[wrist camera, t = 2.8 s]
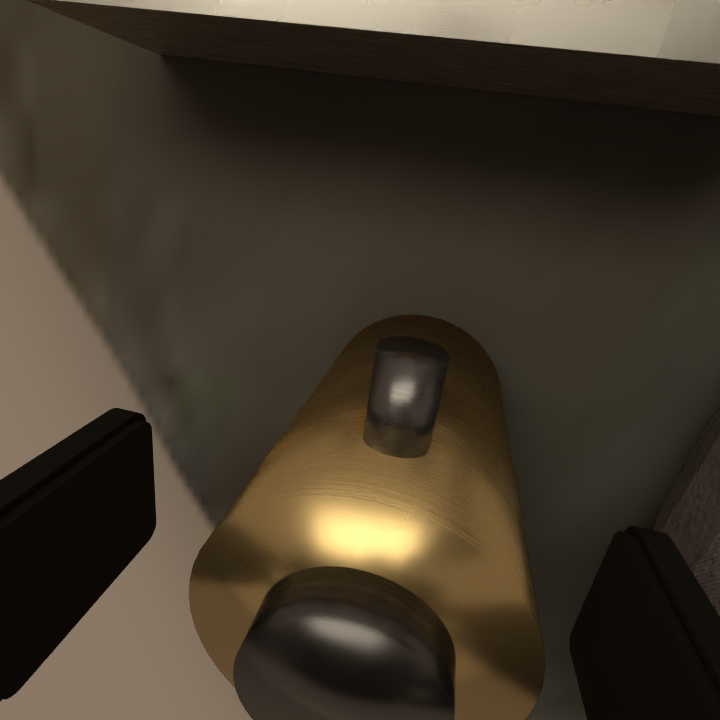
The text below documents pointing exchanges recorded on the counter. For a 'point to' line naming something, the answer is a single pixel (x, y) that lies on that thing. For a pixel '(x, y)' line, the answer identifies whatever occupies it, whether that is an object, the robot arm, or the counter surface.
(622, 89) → the orange white open box
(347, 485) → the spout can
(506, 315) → the counter surface
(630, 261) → the counter surface
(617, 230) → the counter surface
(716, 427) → the grey rounded bag
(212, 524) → the counter surface
